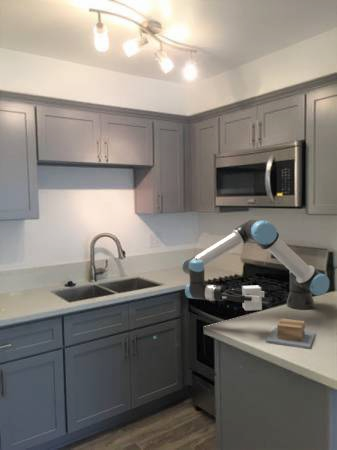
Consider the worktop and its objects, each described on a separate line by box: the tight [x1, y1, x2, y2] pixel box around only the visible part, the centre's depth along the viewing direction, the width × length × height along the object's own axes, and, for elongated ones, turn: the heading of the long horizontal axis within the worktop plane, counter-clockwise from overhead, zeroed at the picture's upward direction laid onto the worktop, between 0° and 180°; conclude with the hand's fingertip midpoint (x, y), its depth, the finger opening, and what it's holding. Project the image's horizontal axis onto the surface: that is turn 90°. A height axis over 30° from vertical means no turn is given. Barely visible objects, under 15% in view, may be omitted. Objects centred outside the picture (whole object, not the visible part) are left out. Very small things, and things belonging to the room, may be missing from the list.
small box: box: [241, 284, 263, 312], centre depth 178 cm, size 8×6×10 cm
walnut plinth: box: [276, 318, 306, 342], centre depth 169 cm, size 10×10×6 cm
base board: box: [265, 327, 316, 350], centre depth 169 cm, size 18×18×1 cm
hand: (261, 296), depth 176 cm, fingers closed on small box, 9 cm apart
